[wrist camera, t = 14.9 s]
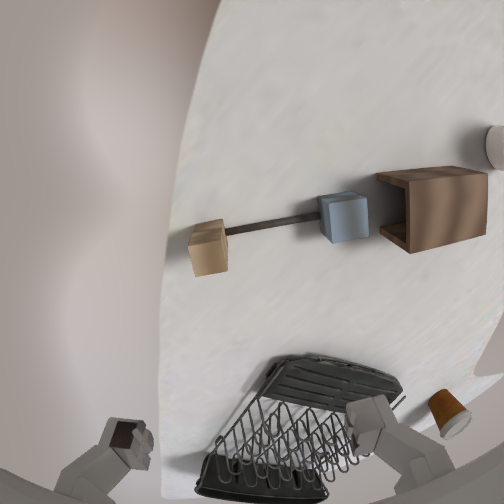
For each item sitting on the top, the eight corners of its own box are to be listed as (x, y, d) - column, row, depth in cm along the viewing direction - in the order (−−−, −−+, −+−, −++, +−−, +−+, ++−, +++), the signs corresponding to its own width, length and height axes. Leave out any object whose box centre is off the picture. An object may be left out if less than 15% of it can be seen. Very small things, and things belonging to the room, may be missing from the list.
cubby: (380, 233, 41) (409, 254, 33) (376, 173, 38) (409, 181, 30) (452, 219, 41) (485, 234, 33) (452, 165, 38) (487, 173, 30)
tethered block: (203, 253, 40) (197, 283, 31) (195, 218, 38) (185, 239, 30) (354, 226, 40) (383, 247, 32) (351, 191, 38) (381, 204, 30)
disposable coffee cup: (452, 396, 59) (472, 424, 48) (423, 414, 60) (442, 445, 49) (452, 378, 56) (475, 408, 45) (421, 398, 57) (442, 432, 46)
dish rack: (191, 457, 58) (189, 497, 47) (279, 331, 46) (292, 384, 34) (306, 473, 65) (314, 506, 54) (413, 370, 53) (439, 407, 41)
